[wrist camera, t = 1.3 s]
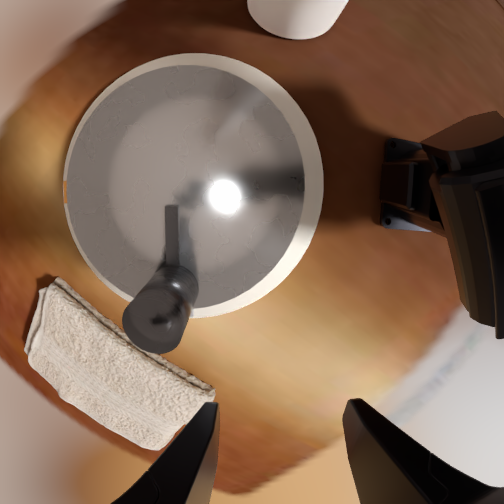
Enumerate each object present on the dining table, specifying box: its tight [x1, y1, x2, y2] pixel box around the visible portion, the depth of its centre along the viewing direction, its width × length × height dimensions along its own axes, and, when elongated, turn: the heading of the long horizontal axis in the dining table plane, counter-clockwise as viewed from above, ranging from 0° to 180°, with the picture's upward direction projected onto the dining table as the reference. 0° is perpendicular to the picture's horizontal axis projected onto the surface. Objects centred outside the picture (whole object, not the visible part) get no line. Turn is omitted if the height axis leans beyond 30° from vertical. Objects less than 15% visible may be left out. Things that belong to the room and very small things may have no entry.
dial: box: [66, 65, 305, 354], centre depth 14 cm, size 15×15×6 cm
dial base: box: [63, 53, 324, 318], centre depth 18 cm, size 18×18×2 cm
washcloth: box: [24, 277, 215, 450], centre depth 22 cm, size 12×18×3 cm, turn 53°
